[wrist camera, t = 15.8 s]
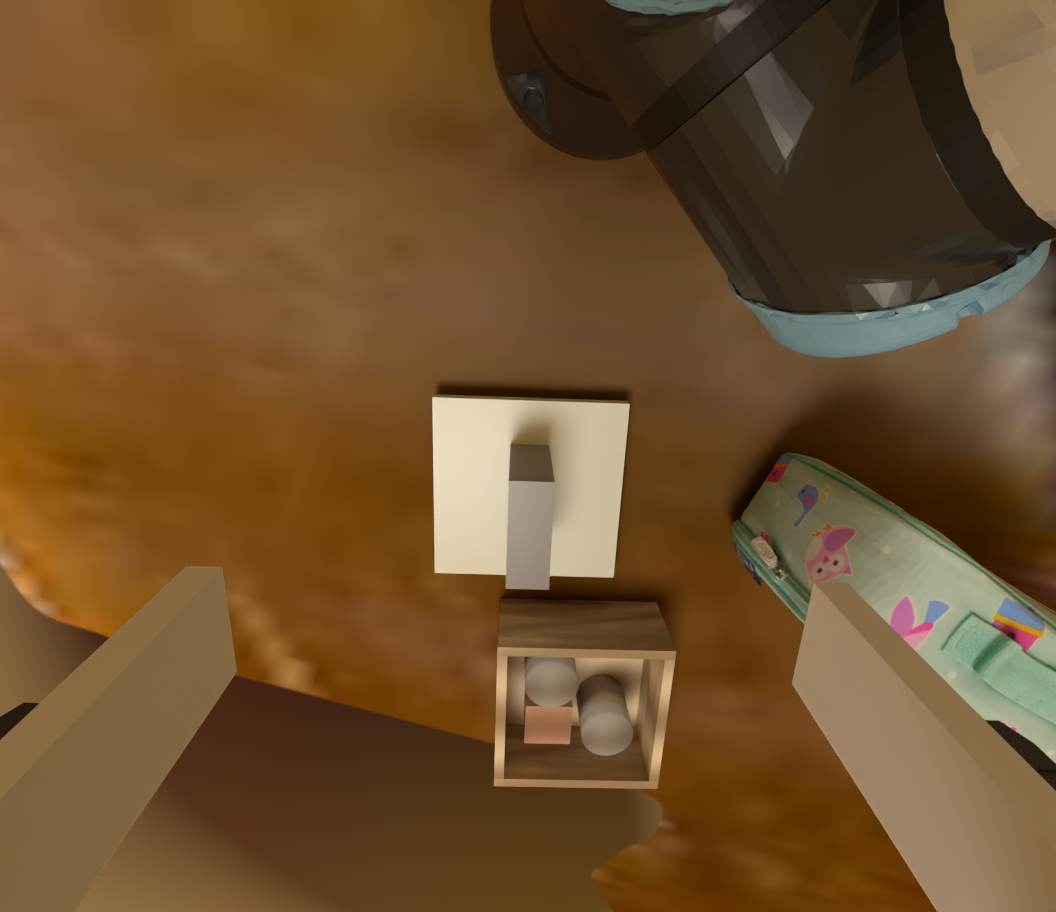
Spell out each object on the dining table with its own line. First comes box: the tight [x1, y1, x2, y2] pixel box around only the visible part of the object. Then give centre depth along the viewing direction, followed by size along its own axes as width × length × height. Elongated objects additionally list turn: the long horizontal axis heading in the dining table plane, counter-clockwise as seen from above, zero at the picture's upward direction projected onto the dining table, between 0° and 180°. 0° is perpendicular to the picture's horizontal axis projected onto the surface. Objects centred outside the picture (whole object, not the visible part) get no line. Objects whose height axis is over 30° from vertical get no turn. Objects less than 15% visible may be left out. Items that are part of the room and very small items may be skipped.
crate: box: [494, 598, 676, 789], centre depth 52 cm, size 14×14×7 cm
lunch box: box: [730, 452, 1056, 764], centre depth 42 cm, size 27×10×21 cm, turn 57°
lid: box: [432, 394, 630, 590], centre depth 45 cm, size 15×15×10 cm
